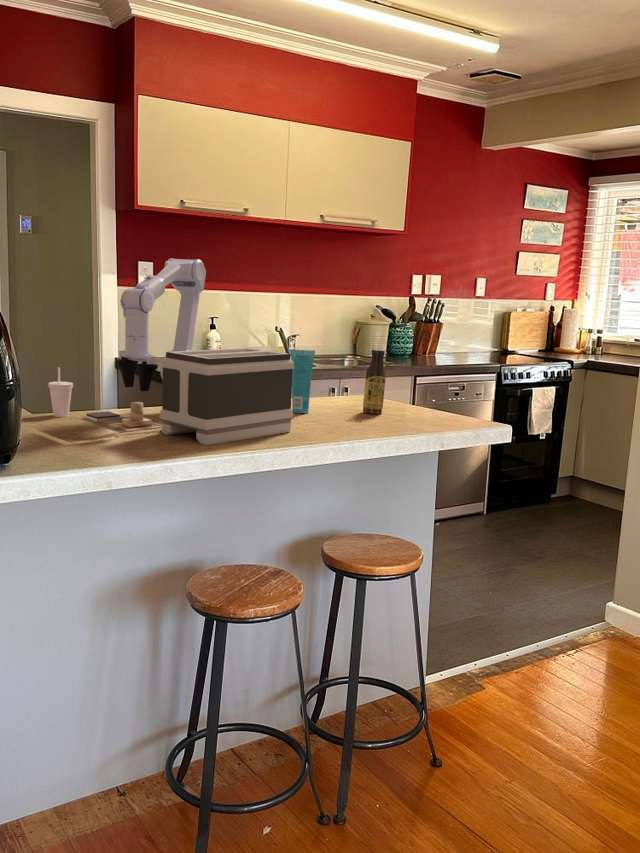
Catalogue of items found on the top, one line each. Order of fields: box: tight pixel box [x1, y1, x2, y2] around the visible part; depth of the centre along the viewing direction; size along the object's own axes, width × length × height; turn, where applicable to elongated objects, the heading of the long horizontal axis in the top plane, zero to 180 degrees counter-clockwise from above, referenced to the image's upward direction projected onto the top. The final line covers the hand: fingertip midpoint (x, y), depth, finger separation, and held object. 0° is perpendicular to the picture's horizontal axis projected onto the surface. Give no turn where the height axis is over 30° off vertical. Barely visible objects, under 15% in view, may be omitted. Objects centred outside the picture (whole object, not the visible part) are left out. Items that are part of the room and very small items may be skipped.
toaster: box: [158, 347, 294, 447], centre depth 204 cm, size 18×34×21 cm, turn 138°
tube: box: [289, 349, 316, 414], centre depth 237 cm, size 7×5×19 cm, turn 99°
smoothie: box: [47, 366, 74, 418], centre depth 211 cm, size 6×6×14 cm
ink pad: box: [83, 410, 123, 423], centre depth 210 cm, size 8×7×1 cm
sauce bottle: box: [362, 348, 387, 415], centre depth 243 cm, size 7×6×20 cm
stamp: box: [122, 401, 152, 428], centre depth 203 cm, size 6×4×6 cm
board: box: [77, 412, 162, 437], centre depth 208 cm, size 18×22×1 cm
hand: (136, 389), depth 202 cm, fingers open, 7 cm apart
